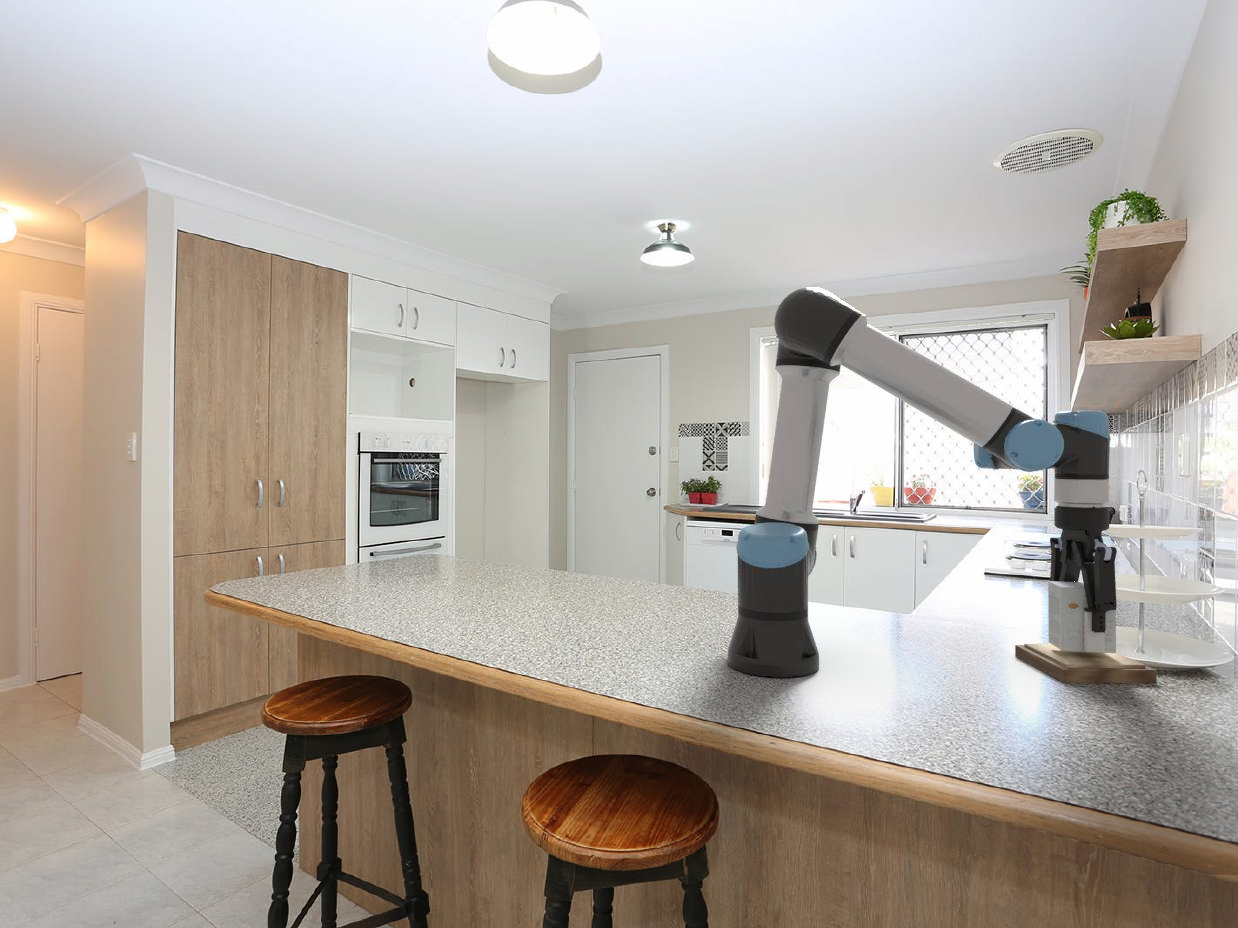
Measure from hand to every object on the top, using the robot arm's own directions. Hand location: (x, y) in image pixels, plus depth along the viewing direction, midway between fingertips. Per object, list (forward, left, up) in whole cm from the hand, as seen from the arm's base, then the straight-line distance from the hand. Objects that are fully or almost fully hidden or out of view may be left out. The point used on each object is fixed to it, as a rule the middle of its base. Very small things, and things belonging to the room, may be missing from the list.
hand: (1081, 645), depth 114 cm
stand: (0, 0, -4) cm, 4 cm away
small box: (0, 0, -1) cm, 1 cm away
